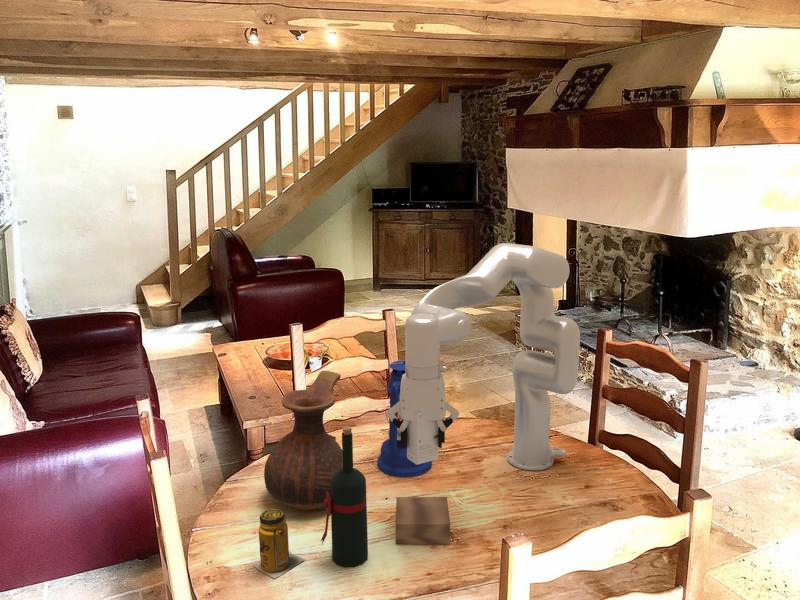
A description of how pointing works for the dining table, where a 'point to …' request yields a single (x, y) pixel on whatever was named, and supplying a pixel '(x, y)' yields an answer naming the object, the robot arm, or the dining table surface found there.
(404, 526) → the walnut block
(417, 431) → the skincare box
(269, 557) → the condiment
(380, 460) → the lantern
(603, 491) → the dining table surface
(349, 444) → the wine bottle
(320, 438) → the jug
